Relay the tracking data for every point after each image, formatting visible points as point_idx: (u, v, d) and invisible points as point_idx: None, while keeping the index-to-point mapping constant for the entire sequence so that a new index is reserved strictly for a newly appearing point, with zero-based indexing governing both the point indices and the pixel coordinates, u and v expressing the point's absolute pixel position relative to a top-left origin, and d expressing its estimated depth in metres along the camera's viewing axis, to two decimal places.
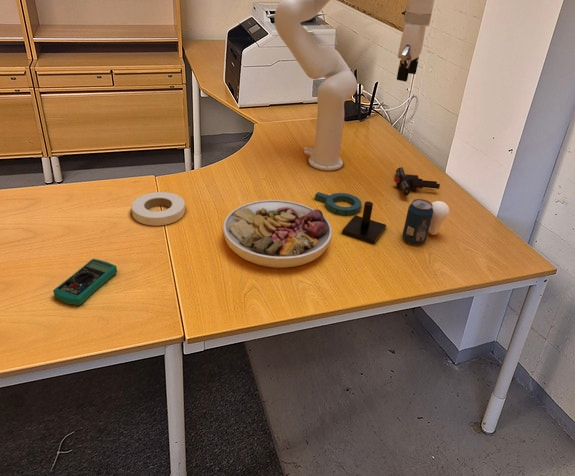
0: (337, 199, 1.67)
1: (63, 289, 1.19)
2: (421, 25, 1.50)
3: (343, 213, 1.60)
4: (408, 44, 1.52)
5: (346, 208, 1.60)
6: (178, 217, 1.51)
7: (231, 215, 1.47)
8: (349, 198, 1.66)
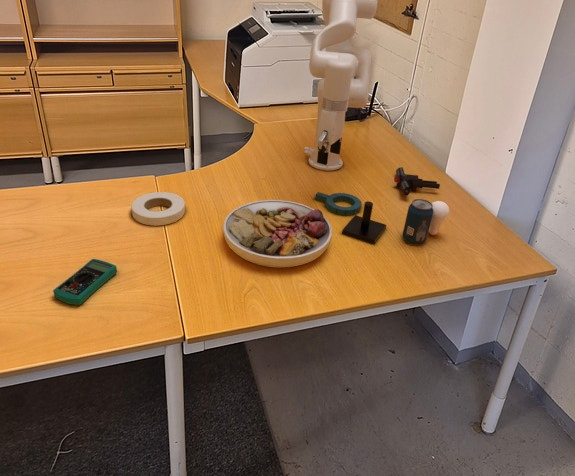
0: (337, 199, 1.67)
1: (63, 289, 1.19)
2: (337, 111, 1.48)
3: (343, 213, 1.60)
4: (325, 130, 1.50)
5: (346, 208, 1.60)
6: (178, 217, 1.51)
7: (231, 215, 1.47)
8: (349, 198, 1.66)
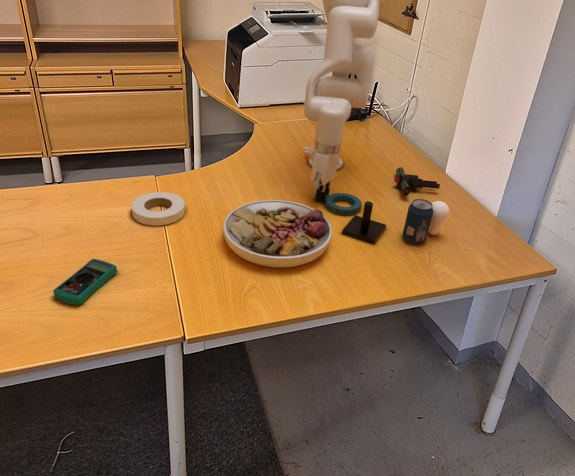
0: (337, 199, 1.67)
1: (63, 289, 1.19)
2: (330, 155, 1.55)
3: (343, 213, 1.60)
4: (319, 171, 1.57)
5: (346, 208, 1.60)
6: (178, 217, 1.51)
7: (231, 215, 1.47)
8: (349, 198, 1.66)
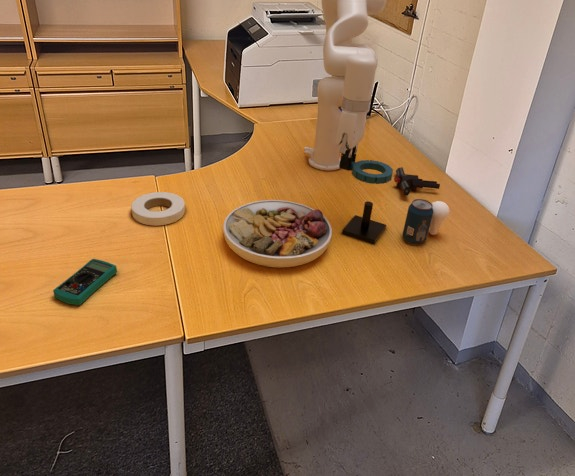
0: (365, 167, 1.46)
1: (63, 289, 1.19)
2: (359, 113, 1.34)
3: (373, 181, 1.39)
4: (345, 133, 1.36)
5: (376, 175, 1.39)
6: (178, 217, 1.51)
7: (231, 215, 1.47)
8: (378, 165, 1.46)
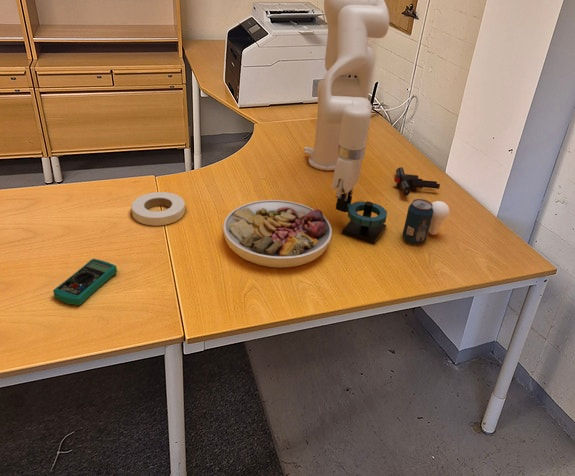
0: (360, 208, 1.52)
1: (63, 289, 1.19)
2: (354, 160, 1.40)
3: (368, 224, 1.45)
4: (341, 178, 1.43)
5: (371, 218, 1.45)
6: (178, 217, 1.51)
7: (231, 215, 1.47)
8: (373, 207, 1.52)
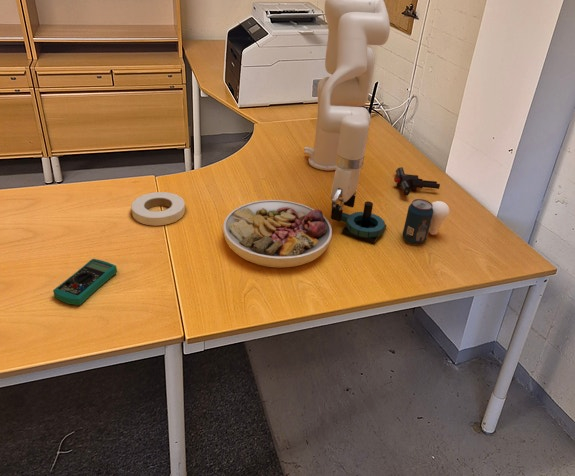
0: (358, 219, 1.54)
1: (63, 289, 1.19)
2: (352, 170, 1.42)
3: (366, 235, 1.47)
4: (340, 188, 1.44)
5: (369, 229, 1.47)
6: (178, 217, 1.51)
7: (231, 215, 1.47)
8: (371, 218, 1.54)
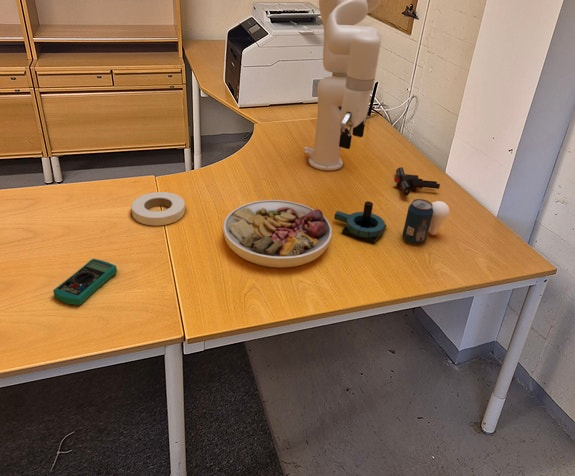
0: (358, 219, 1.54)
1: (63, 289, 1.19)
2: (363, 91, 1.36)
3: (366, 235, 1.47)
4: (349, 111, 1.38)
5: (369, 229, 1.47)
6: (178, 217, 1.51)
7: (231, 215, 1.47)
8: (371, 218, 1.54)
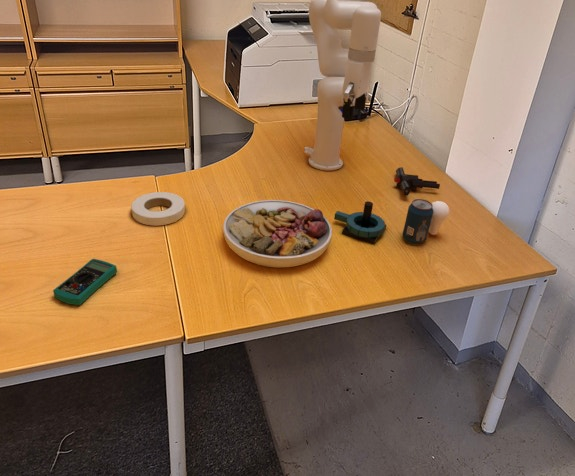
0: (358, 219, 1.54)
1: (63, 289, 1.19)
2: (364, 62, 1.43)
3: (366, 235, 1.47)
4: (351, 82, 1.45)
5: (369, 229, 1.47)
6: (178, 217, 1.51)
7: (231, 215, 1.47)
8: (371, 218, 1.54)
